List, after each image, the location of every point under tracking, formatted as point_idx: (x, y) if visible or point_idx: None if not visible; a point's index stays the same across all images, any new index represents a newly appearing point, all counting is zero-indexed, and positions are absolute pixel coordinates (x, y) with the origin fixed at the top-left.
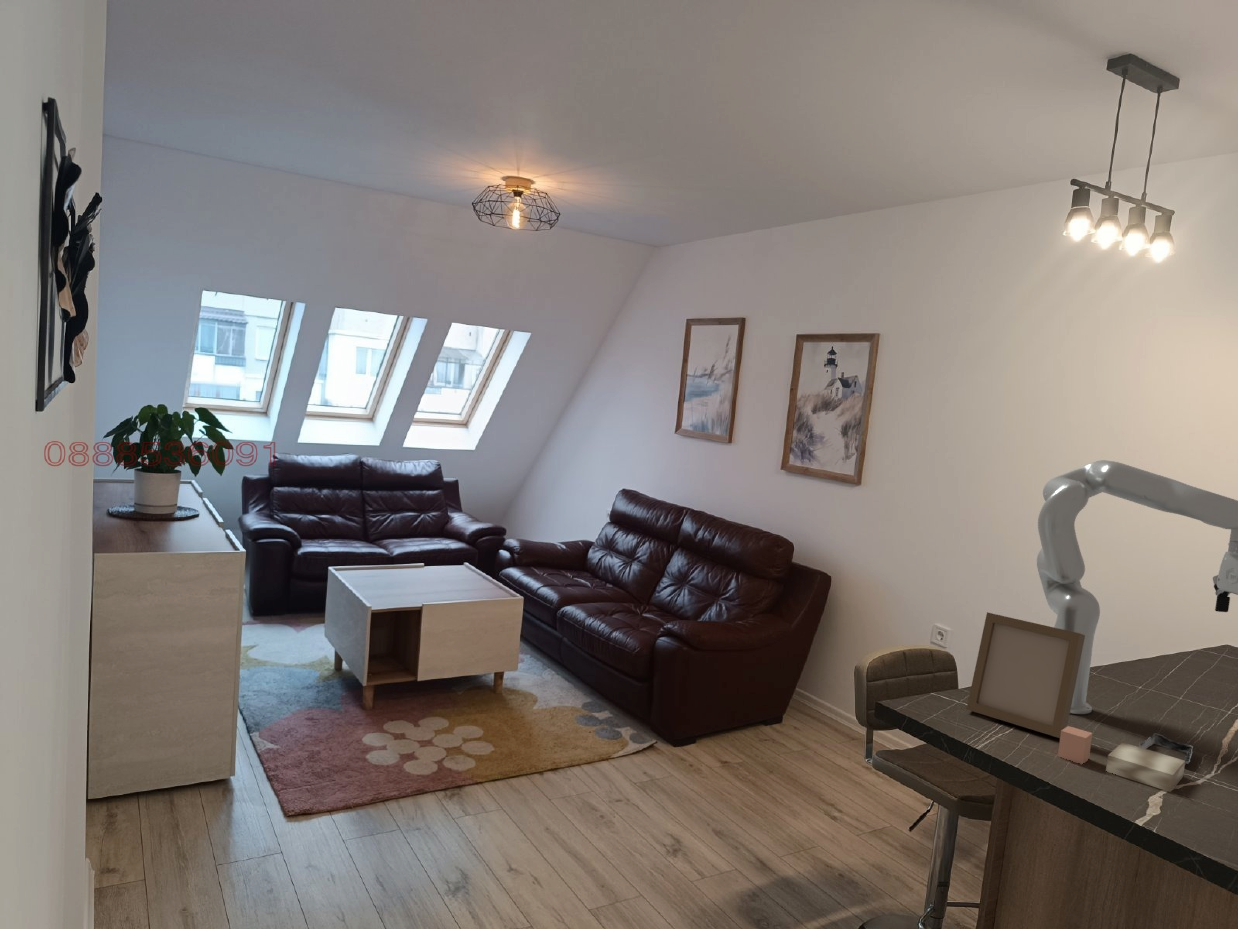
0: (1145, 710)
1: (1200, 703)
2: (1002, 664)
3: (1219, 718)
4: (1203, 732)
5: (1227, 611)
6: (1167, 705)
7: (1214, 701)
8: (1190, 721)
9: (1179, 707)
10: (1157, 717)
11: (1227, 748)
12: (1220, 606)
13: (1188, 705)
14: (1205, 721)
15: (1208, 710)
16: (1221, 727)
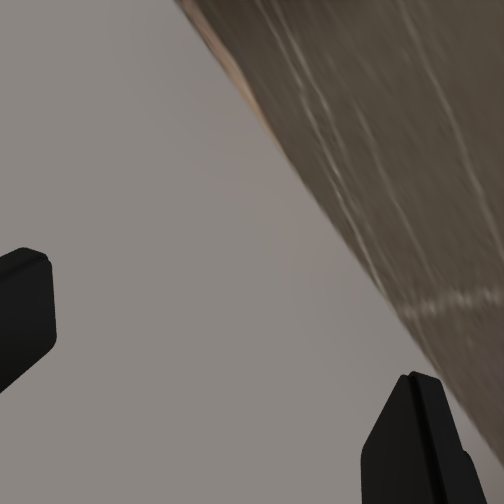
0: (483, 39)
1: (464, 304)
2: None
3: (364, 237)
4: (291, 67)
5: (362, 453)
6: (489, 181)
7: (462, 357)
8: (366, 117)
9: (462, 205)
10: (420, 21)
11: (190, 20)
12: (401, 437)
13: (465, 252)
14: (356, 169)
15: (417, 270)
16: (313, 171)
